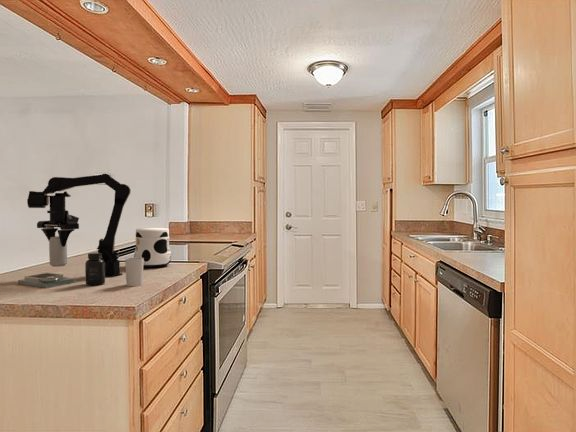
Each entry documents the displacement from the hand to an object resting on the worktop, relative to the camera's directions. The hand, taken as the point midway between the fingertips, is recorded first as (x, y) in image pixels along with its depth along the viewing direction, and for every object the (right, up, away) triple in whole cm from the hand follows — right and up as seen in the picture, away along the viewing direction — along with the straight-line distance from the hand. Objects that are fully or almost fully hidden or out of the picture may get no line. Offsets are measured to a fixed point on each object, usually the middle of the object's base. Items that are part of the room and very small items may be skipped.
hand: (58, 246), depth 175 cm
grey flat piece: (+1, -14, -10) cm, 17 cm away
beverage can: (0, -8, 0) cm, 8 cm away
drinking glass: (+36, -14, -12) cm, 40 cm away
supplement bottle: (+21, -14, -12) cm, 28 cm away
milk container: (+29, -12, +32) cm, 45 cm away
